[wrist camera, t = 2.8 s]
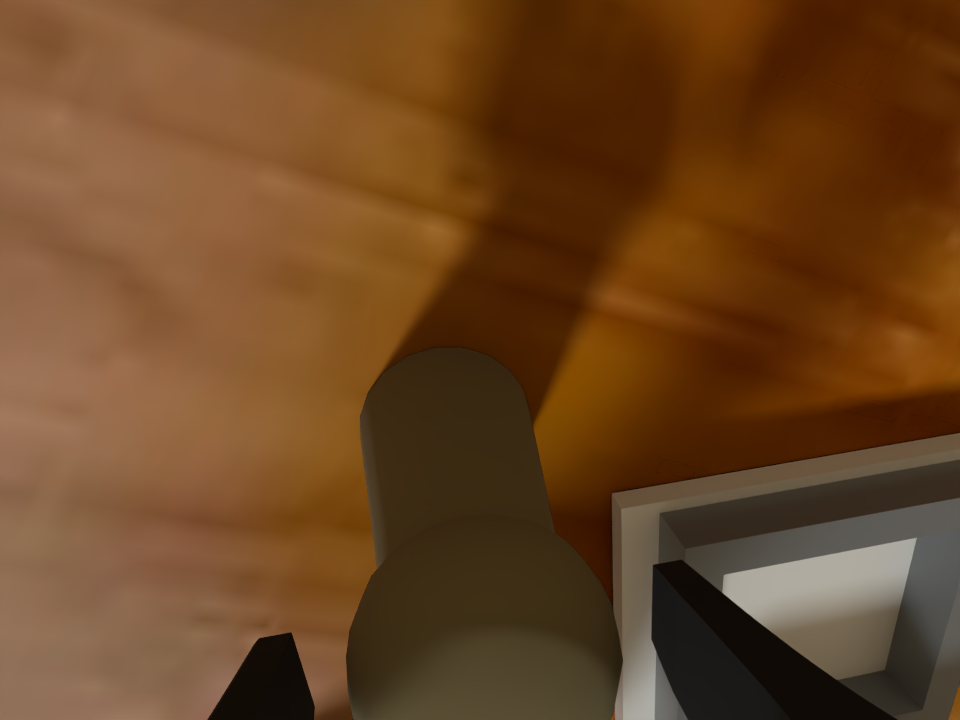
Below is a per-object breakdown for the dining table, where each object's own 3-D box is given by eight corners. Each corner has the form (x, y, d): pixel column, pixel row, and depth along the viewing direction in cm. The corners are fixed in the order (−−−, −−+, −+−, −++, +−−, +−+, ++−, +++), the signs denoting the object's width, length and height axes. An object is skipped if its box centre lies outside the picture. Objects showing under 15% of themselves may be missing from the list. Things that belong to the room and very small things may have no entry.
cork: (409, 315, 17) (420, 541, 7) (561, 391, 19) (746, 660, 9) (330, 463, 19) (246, 824, 9) (478, 520, 21) (554, 879, 10)
